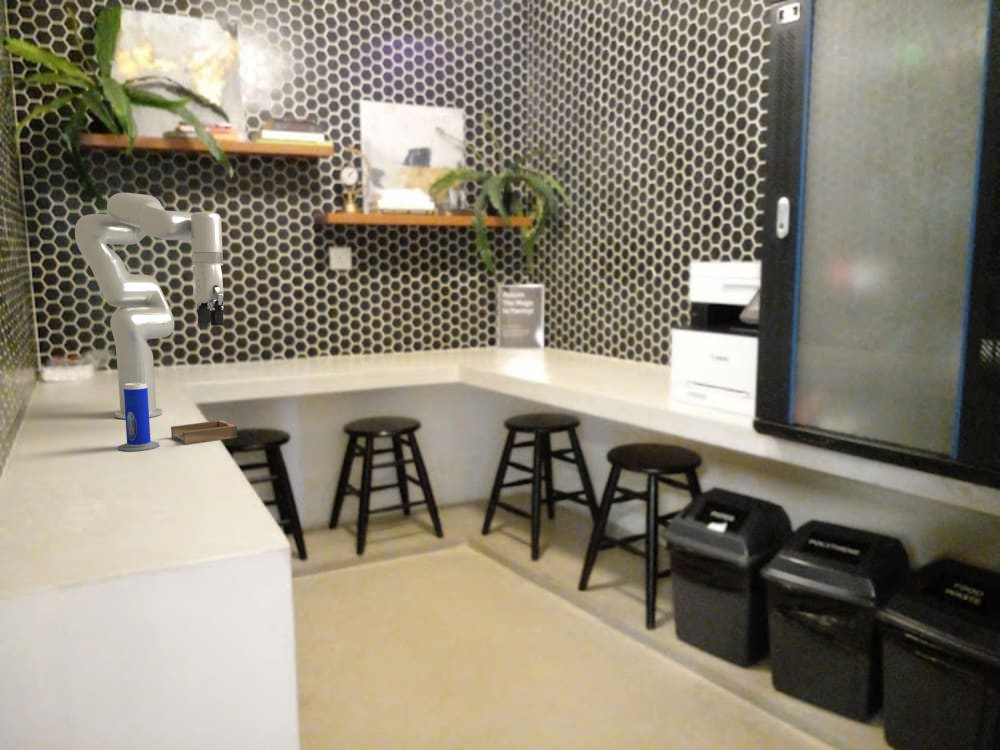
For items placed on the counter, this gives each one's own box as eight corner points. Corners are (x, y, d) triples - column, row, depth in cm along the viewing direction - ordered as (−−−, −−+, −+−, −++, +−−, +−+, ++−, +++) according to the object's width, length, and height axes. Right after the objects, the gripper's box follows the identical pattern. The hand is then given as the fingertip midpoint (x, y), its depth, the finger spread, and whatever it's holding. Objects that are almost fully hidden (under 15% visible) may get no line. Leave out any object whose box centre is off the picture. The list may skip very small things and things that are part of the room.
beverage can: (123, 445, 181) (119, 384, 179) (144, 441, 185) (140, 381, 183) (133, 448, 178) (129, 386, 176) (154, 444, 182) (151, 383, 180)
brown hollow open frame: (171, 438, 191) (170, 426, 191) (222, 431, 200) (221, 420, 199) (185, 444, 184) (184, 432, 183) (237, 437, 192) (236, 425, 192)
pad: (113, 446, 182) (113, 444, 182) (152, 441, 188) (152, 439, 188) (124, 453, 175) (124, 451, 175) (164, 447, 181) (164, 445, 181)
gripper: (182, 259, 203) (185, 322, 205) (204, 259, 190) (207, 327, 192) (210, 260, 208) (213, 321, 210) (234, 260, 195) (236, 325, 197)
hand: (210, 324), depth 201 cm, fingers open, 9 cm apart
